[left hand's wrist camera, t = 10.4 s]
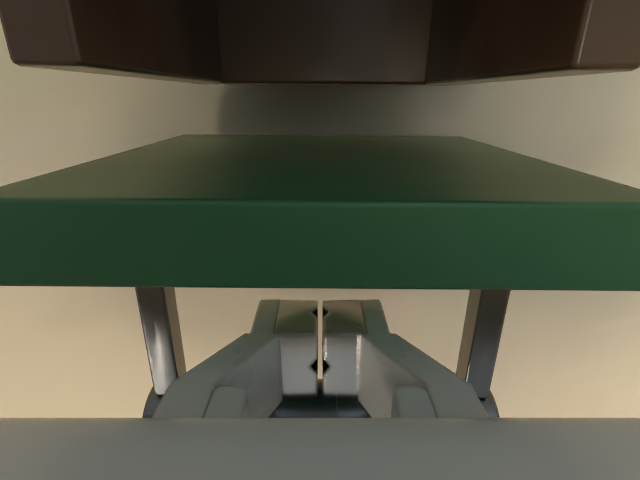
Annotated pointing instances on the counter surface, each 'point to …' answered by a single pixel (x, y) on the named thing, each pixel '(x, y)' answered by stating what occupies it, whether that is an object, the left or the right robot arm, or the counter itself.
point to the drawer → (322, 166)
